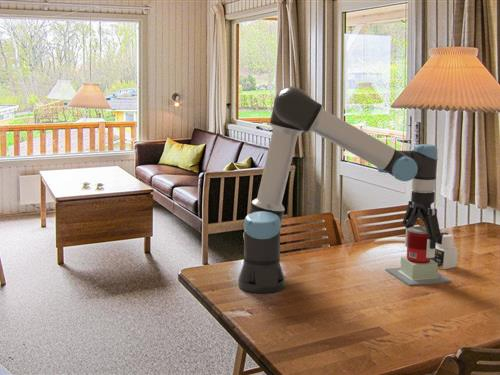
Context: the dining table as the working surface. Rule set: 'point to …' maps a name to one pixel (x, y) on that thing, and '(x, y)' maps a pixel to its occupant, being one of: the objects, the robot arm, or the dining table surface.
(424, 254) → the canned food
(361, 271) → the dining table surface
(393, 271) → the plate
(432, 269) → the block
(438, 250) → the medicine bottle
